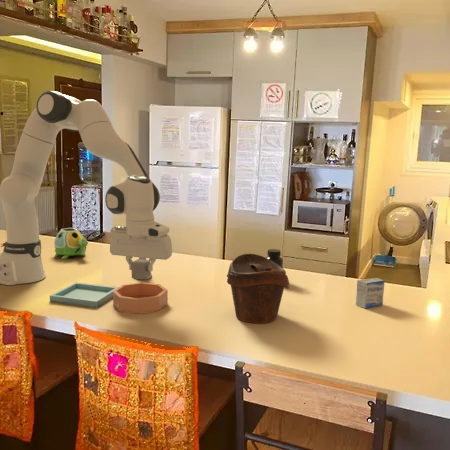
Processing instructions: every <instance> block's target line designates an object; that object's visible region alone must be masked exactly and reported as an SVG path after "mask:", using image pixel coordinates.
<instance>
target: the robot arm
mask: <svg viewBox="0 0 450 450" xmlns="http://www.w3.org/2000/svg"><path fill="white" fill-rule="evenodd" d="M64 129H65V130H66V131H67V132H77V133H79V135H80V138H81V141H82V143H83V145H84V147H85V149H86V151H87V152H89V153H90V154H92V155H93V156H95V157H98V158H102V159H105V160H109V161H111V162H114V163H116V164H118V165H120V166H121V167H122V168H123V169H124V171H125V172H126V174H127V177H126V178H125V180H124V181H122V182H121V183H118V184H114V185H112V186H110V187H109V188H108V189H107V191H106V193H105V198H104V199H105V201H104V202H105V206H106V207H107V208H106V209H108V211H109V212H110V213H111V214H113V215H125V226H117V225H116V226H114V227H111V229H110V232H109V233H110V242H109V252H110V254H111V255H112V256H122V257H125V260H126V263H128V266H129V268H128V269H129V271H132V268H131V263H132V262H134V260H133V257H134V258H139V257H140V258H146V259H148V260H149V262H150V264H149V265H148V266H146V271H147V272H151V273H152V272H153V268H154V267H153V266H154V264H155V262H156V260H163V261H167V260H169V259H170V258H171V257H172V255H173V244H172V238H171V237H170V235H168V234H169V233H170V228H169V227H168V226H167V225H165V224H162V223H159V222H158V221H155V215H154V211H155V210H156V209H157V207H158V206H159V203H160V201H161V194H160V191H159V189H158V187H157V186H156V184H155V183H154V182H153V181H152V179H151V178H149V175H148V174H147V172H146V170H145V169H144V167H143V165H142V164H141V161H139V159H138V156H137V155H136V154H135V151H134V150H133V149H132V147H131V145H129V144H128V143H127V142H125V140H123V139H122V138H121V137H120V135H119V134H118V133H117V131H116V130H115V128H114V126H113V124H112V122H111V120H110V117H109V116H108V114H107V111H106V110H105V109H104V107H103V106H102V104H101V103H100V102H99V101H97V100H95V99H85V100H80V99H77V98H76V97H74V96H72V95H70V96H69V95H68V94H67V95H66V94H63V93H62V92H59V91H54V90H47V91H44V92H43V93H42V94H41V95H39V97H38V99H37V101H36V106H35V108H34V109H33V110H32V112H31V113H30V115H29V117H28V119H27V121H26V123H25V125H24V127H23V129H22V133H21V136H20V138H19V142H18V144H17V146H16V150H15V152H14V160H13V165H12V169H11V173H10V175H8V176H6V177H5V178H4V179H3V180H2V181H1V183H0V201H1V206H2V211H3V216H4V220H5V232H6V241H5V242H2V243H0V247H1V248H3V250H2V251H1V253H0V284H1V285H4V286H5V285H6V286H14V285H21V284H29V283H35V282H39V281H41V280H44V279H45V278H46V277H47V275H46V273H45V270H44V266H43V260H42V255H41V254H42V241H41V239H40V225H39V217H38V213H37V209H36V203H35V198H36V197H37V196H38V195H39V193H40V189H41V186H42V183H43V179H44V176H45V173H46V167H47V165H48V162H49V159H50V156H51V153H52V150H53V149H54V148H53V147H54V145H55V142H56V139H57V135H58V134H59V133H60V131H62V130H64Z"/></svg>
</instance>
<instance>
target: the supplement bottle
mask: <svg viewBox="0 0 450 450" xmlns="http://www.w3.org/2000/svg"><path fill="white" fill-rule="evenodd" d="M281 252H282V251H281V250H280V249H277V248H271V249H270V248H269V249H267V256H266V257H265V258H267V259H269V260H271V261H273V262H275V263H277V264H278V265H279V266H280V267H282V268H283V269H284V260H283V258H282V257H281V255H282V253H281Z"/></svg>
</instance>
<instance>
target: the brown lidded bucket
mask: <svg viewBox="0 0 450 450" xmlns="http://www.w3.org/2000/svg"><path fill="white" fill-rule="evenodd" d="M226 278H227V280H226V282H227V284H228V285H229V286H230V289H231V294H232V300H233V306H234V311H235V318H236V319H238V320H240V321H242V322H246V323H251V324H256V325H257V324H258V325H261V324H268V323H272V322H273V321H275V320H276V319H277V317H278V313H279V310H280V307H281V301H282V297H283V293H284V290H285V289H287V290H288V291H289V292H290V280H289V277H288V275H287V273H286V270H285V269H284V267H283V268H282V267H280V266H279V265H278V264H277V263H275V262H273V261H271V260H269V259H267V258H266V257H264V256H262V255H259V254H255V253H243V254H240V255H238V256H237V257H235V258H234V259H232V261H231V262H230V264H229V267H228V271H227V274H226Z"/></svg>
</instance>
